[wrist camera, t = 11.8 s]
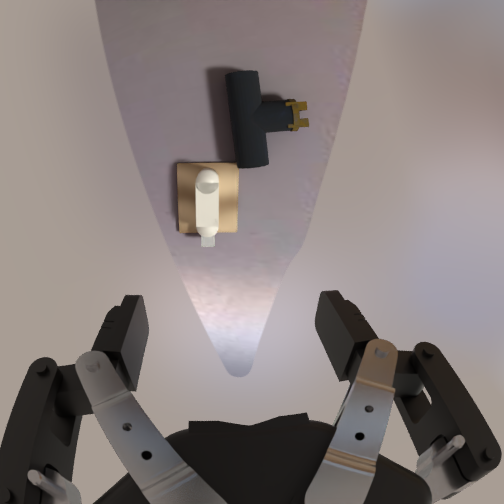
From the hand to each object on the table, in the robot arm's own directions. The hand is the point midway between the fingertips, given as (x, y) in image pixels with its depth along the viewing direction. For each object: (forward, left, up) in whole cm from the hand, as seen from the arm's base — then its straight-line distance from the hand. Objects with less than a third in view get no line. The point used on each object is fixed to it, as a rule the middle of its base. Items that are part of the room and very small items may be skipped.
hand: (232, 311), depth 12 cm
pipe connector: (-10, +7, -36) cm, 38 cm away
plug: (+5, -2, -35) cm, 36 cm away
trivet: (+4, -2, -36) cm, 36 cm away
